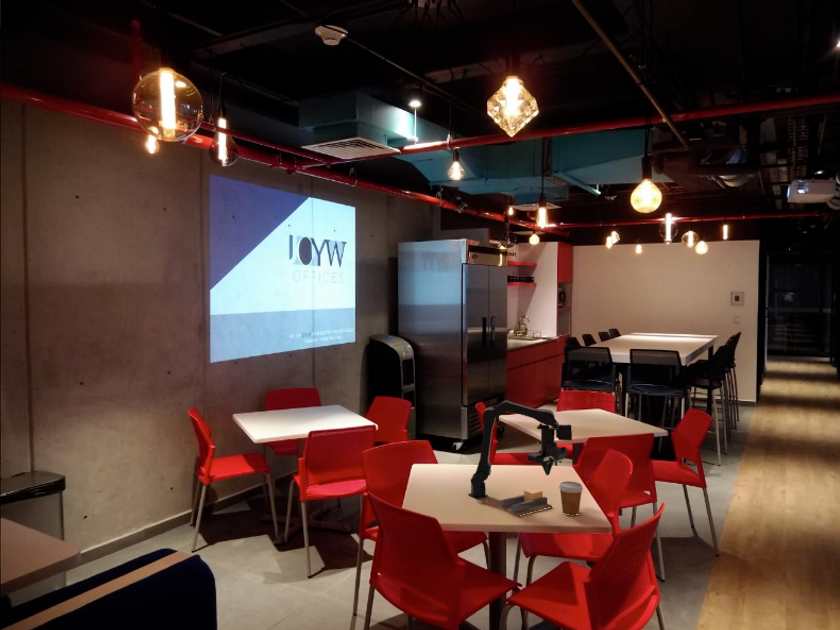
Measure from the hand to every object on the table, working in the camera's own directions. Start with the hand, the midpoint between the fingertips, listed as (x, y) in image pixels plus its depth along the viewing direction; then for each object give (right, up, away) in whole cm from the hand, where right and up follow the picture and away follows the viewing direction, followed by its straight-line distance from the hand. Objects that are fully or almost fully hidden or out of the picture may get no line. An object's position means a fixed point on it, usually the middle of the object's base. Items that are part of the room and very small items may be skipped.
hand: (547, 475), depth 256 cm
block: (-7, -11, -4) cm, 13 cm away
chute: (-12, -12, -7) cm, 18 cm away
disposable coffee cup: (+6, -12, -15) cm, 20 cm away
